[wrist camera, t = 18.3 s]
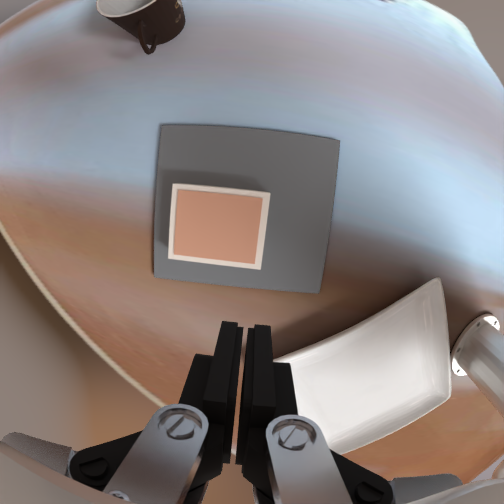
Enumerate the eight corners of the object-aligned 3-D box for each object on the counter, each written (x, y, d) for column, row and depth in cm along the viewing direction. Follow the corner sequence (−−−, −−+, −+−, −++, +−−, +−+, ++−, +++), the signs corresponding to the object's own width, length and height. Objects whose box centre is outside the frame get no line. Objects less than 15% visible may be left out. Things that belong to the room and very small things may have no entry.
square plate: (443, 386, 39) (452, 398, 35) (315, 449, 43) (318, 464, 39) (428, 267, 33) (443, 276, 29) (251, 354, 37) (250, 372, 33)
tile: (270, 193, 28) (172, 183, 27) (260, 270, 30) (167, 259, 29) (269, 192, 30) (179, 183, 30) (260, 262, 32) (174, 252, 32)
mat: (338, 141, 29) (340, 140, 28) (318, 291, 34) (319, 293, 33) (163, 126, 29) (161, 125, 28) (155, 275, 33) (154, 277, 33)
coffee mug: (144, 3, 24) (117, -35, 14) (202, 3, 24) (187, -42, 15) (113, 71, 27) (72, 45, 17) (173, 75, 27) (143, 40, 18)
